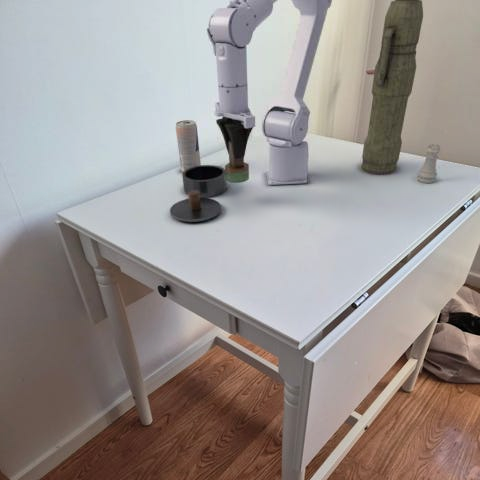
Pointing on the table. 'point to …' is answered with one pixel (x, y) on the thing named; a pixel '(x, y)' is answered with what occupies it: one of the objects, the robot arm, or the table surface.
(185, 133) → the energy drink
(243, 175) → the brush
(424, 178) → the rook chess piece
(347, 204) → the table surface
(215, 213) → the tin lid
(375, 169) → the green robed figurine
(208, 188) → the tin
